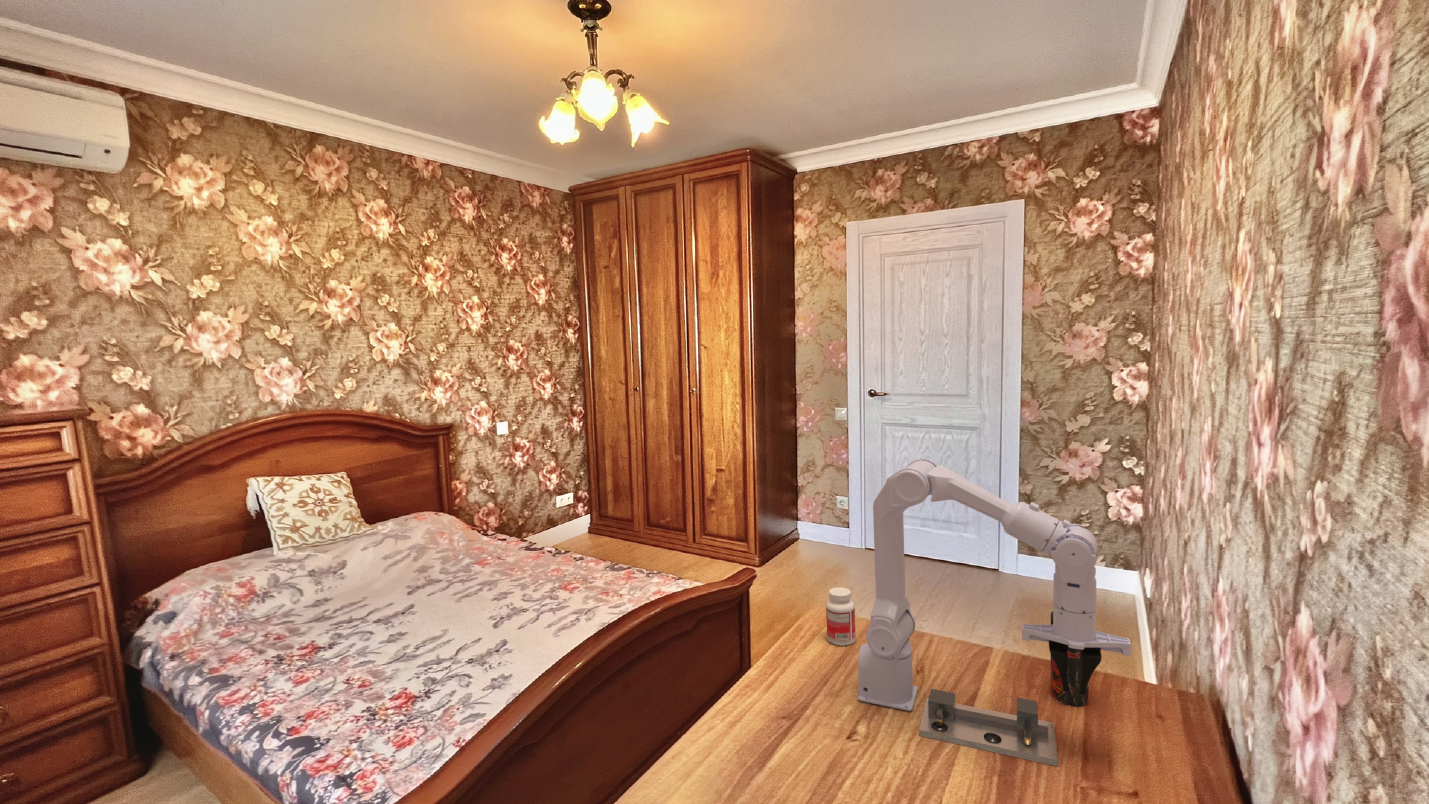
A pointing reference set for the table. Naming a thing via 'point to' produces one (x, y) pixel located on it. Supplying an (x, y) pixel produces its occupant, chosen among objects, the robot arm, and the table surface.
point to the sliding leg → (1027, 718)
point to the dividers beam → (969, 714)
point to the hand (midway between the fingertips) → (1073, 689)
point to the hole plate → (992, 736)
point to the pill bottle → (840, 617)
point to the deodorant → (1073, 673)
